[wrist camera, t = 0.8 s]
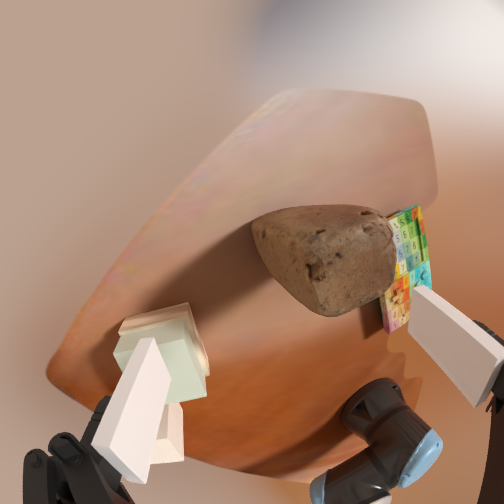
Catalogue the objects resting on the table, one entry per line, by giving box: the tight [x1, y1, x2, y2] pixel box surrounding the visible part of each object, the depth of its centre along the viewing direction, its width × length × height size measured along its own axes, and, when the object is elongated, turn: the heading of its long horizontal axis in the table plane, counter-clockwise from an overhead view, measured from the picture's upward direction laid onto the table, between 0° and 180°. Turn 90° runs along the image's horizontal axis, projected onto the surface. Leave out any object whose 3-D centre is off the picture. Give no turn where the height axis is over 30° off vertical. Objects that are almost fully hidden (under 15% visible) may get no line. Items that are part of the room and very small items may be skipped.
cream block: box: [150, 402, 184, 464], centre depth 34 cm, size 6×6×12 cm
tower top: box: [113, 320, 207, 404], centre depth 31 cm, size 9×9×5 cm
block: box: [251, 205, 397, 317], centre depth 29 cm, size 11×8×20 cm
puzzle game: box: [379, 204, 432, 334], centre depth 42 cm, size 12×5×20 cm
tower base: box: [118, 302, 210, 377], centre depth 36 cm, size 10×10×5 cm
